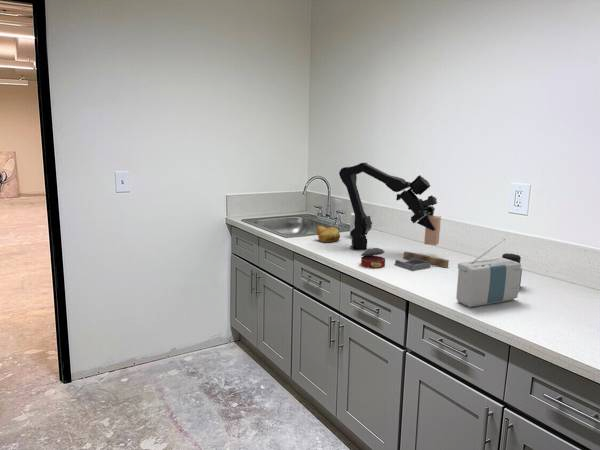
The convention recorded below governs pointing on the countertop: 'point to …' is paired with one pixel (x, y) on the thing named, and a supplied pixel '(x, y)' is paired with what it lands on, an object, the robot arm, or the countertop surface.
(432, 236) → the salmon pink cylinder
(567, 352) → the countertop surface
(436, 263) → the door edge strip
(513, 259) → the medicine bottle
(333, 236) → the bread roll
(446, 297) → the countertop surface
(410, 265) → the keeper bracket
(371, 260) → the canned food
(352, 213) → the supplement box
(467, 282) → the stereo radio cassette player
